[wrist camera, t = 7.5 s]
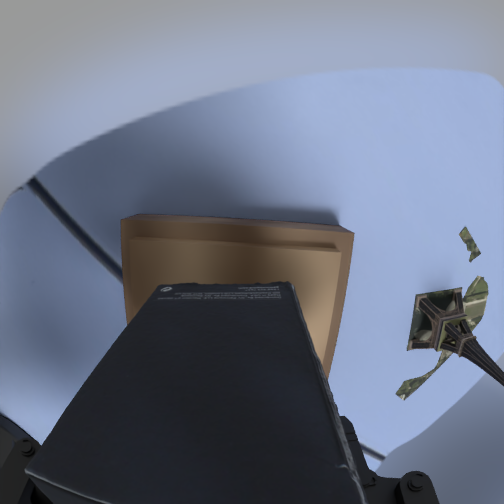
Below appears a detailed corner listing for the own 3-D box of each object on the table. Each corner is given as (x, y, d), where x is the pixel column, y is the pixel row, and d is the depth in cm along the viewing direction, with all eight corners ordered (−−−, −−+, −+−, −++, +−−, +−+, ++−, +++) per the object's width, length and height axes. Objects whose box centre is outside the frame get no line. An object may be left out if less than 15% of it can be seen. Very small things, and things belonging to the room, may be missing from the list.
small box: (148, 279, 13) (0, 461, 3) (295, 277, 13) (398, 500, 3) (179, 438, 15) (150, 584, 5) (285, 439, 15) (307, 590, 5)
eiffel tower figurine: (400, 399, 24) (456, 495, 11) (342, 352, 23) (402, 480, 10) (498, 291, 22) (587, 346, 9) (459, 221, 20) (584, 262, 7)
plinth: (149, 379, 23) (136, 408, 19) (138, 214, 20) (113, 221, 16) (312, 390, 23) (321, 421, 19) (340, 225, 20) (360, 236, 16)
